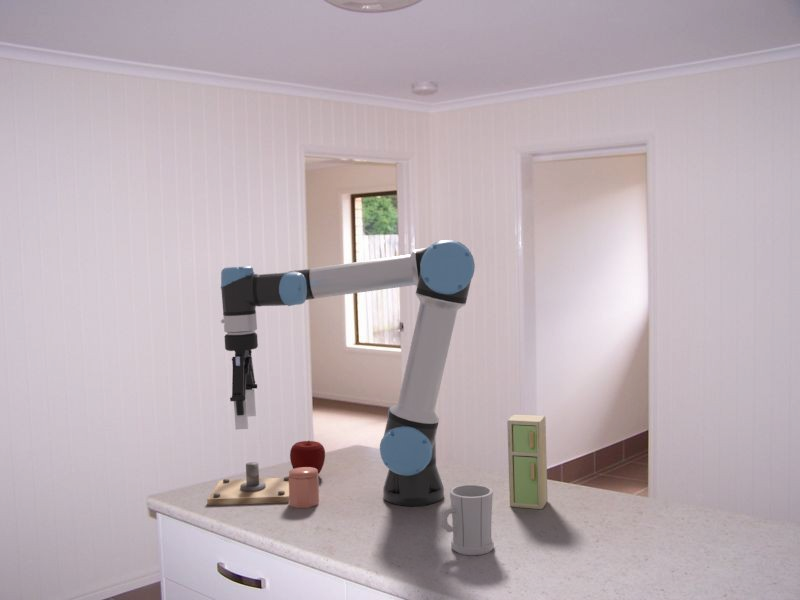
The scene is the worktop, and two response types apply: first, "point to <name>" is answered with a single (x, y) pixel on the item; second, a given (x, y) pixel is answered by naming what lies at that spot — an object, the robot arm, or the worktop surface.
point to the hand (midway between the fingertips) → (246, 422)
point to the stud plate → (250, 489)
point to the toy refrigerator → (527, 461)
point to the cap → (303, 487)
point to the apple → (307, 455)
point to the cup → (469, 519)
